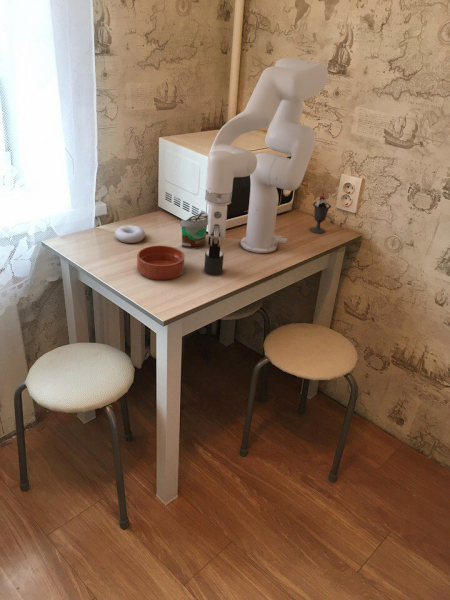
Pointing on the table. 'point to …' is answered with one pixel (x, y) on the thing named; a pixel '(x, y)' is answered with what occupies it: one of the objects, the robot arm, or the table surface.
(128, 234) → the donut
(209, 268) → the sushi roll
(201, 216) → the food container
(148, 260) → the bowl
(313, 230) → the sundae
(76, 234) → the table surface
